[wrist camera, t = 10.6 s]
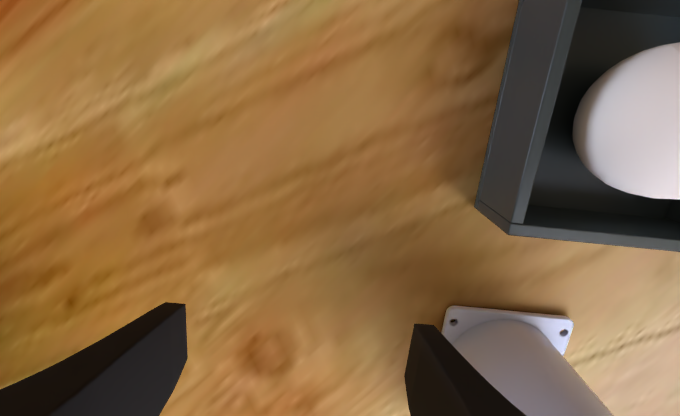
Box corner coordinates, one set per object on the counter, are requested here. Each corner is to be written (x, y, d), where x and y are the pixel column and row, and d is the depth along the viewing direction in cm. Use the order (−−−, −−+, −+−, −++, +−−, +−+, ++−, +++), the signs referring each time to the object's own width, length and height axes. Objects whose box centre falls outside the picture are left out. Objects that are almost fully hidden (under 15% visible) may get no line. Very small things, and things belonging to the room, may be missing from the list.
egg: (549, 191, 20) (678, 248, 12) (535, 74, 18) (676, 54, 10) (668, 160, 19) (883, 199, 11) (666, 37, 17) (917, -14, 10)
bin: (662, 226, 21) (745, 258, 16) (473, 207, 20) (507, 235, 16) (744, 14, 17) (874, -15, 13) (520, -10, 17) (579, -47, 13)
